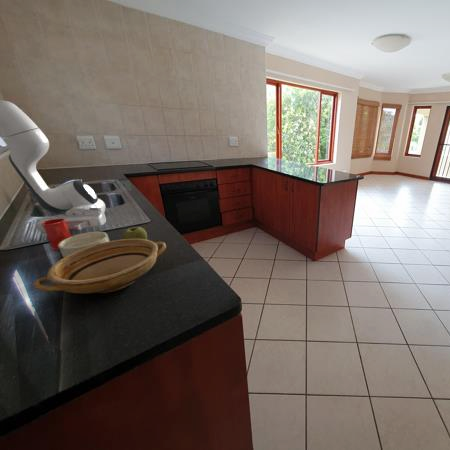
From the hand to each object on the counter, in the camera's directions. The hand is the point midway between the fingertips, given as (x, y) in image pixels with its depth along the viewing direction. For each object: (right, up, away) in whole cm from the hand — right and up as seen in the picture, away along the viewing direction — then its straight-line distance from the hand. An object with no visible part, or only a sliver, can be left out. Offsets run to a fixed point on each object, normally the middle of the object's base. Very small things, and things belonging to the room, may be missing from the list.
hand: (61, 229), depth 87 cm
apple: (+28, -6, +1) cm, 28 cm away
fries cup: (+1, -6, 0) cm, 6 cm away
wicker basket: (+35, -15, -18) cm, 42 cm away
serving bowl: (+12, -7, -2) cm, 14 cm away
